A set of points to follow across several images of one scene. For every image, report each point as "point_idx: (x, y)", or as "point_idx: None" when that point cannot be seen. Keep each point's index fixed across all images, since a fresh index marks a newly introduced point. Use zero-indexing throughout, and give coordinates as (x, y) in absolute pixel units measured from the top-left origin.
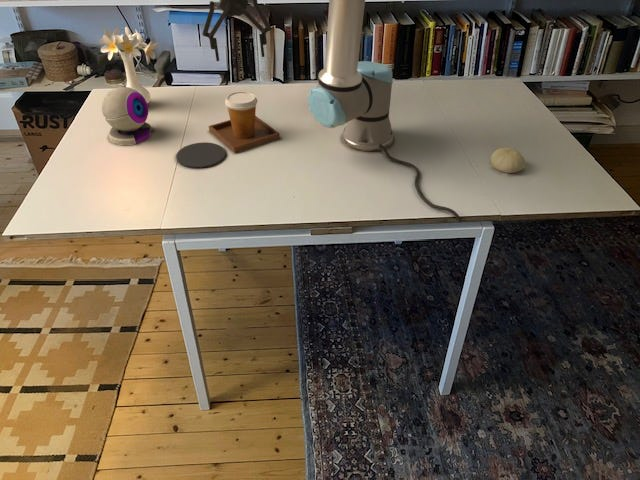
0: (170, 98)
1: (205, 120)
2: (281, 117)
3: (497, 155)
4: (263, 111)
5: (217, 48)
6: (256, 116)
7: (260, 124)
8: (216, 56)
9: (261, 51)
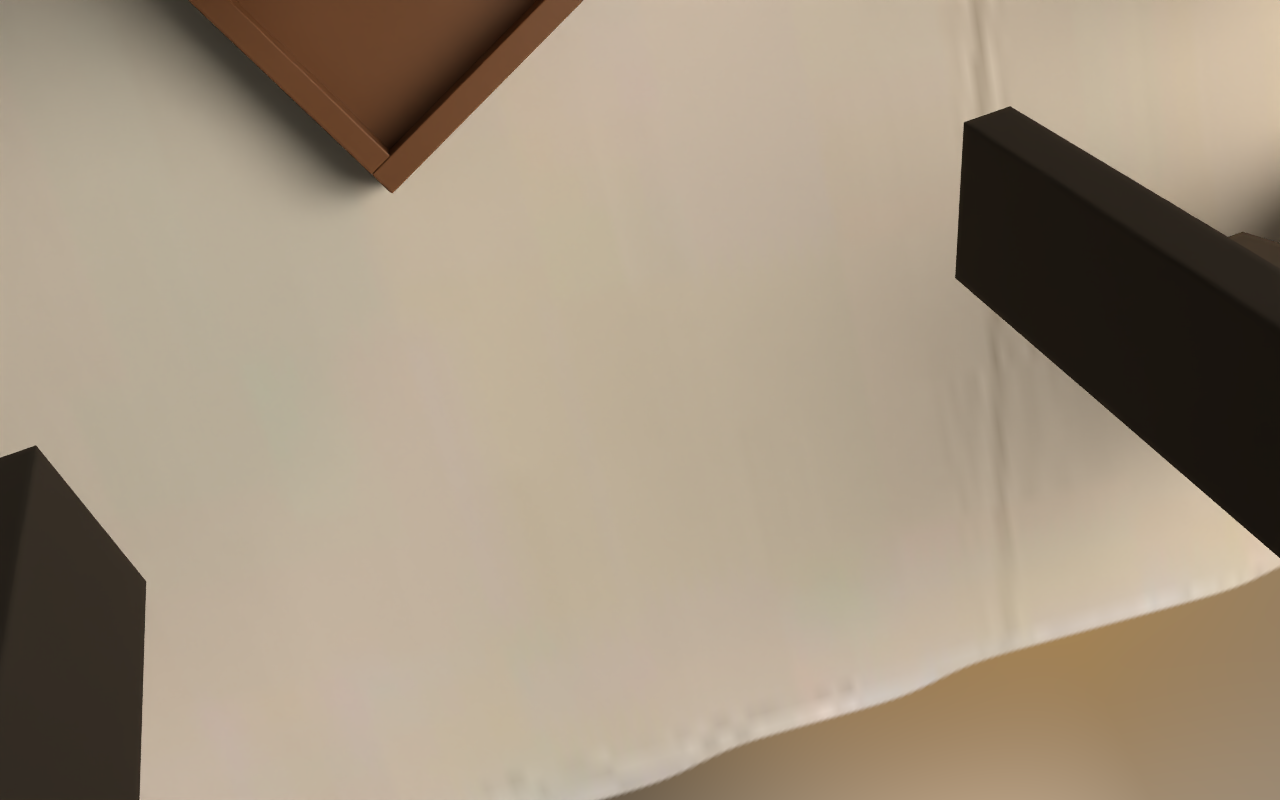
0: None
1: (829, 75)
2: (91, 266)
3: None
4: (331, 361)
5: (1123, 326)
6: (319, 123)
7: (240, 6)
8: (1060, 144)
9: (20, 537)
